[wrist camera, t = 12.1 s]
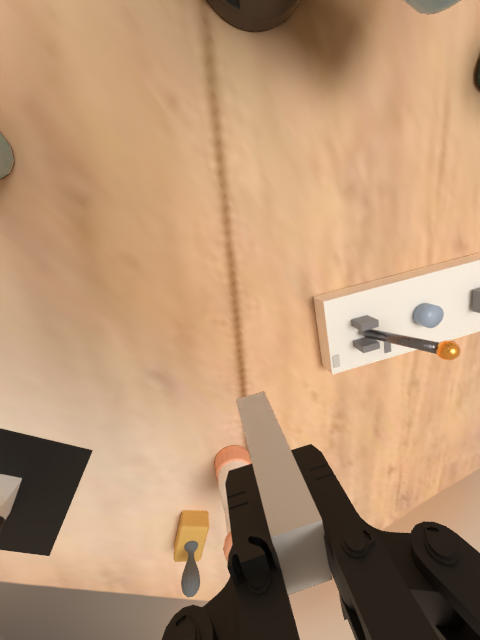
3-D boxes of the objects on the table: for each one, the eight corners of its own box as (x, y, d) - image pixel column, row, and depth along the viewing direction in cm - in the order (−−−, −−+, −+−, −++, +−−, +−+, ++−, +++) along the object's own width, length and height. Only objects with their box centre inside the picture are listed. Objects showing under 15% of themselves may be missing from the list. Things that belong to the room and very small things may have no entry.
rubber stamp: (200, 543, 61) (201, 612, 50) (174, 543, 60) (169, 614, 48) (208, 510, 58) (211, 575, 47) (182, 510, 57) (178, 577, 46)
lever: (357, 327, 45) (455, 347, 33) (366, 322, 46) (464, 339, 35) (358, 341, 46) (454, 365, 34) (367, 335, 47) (463, 357, 36)
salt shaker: (215, 446, 54) (225, 553, 36) (250, 443, 55) (277, 545, 37) (214, 475, 56) (224, 589, 38) (248, 471, 57) (273, 580, 39)
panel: (313, 296, 47) (332, 306, 41) (491, 249, 50) (535, 251, 44) (322, 364, 52) (340, 383, 45) (485, 317, 55) (524, 328, 48)
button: (413, 306, 46) (422, 309, 44) (433, 300, 47) (443, 303, 45) (413, 327, 48) (422, 330, 46) (433, 321, 48) (443, 324, 46)
